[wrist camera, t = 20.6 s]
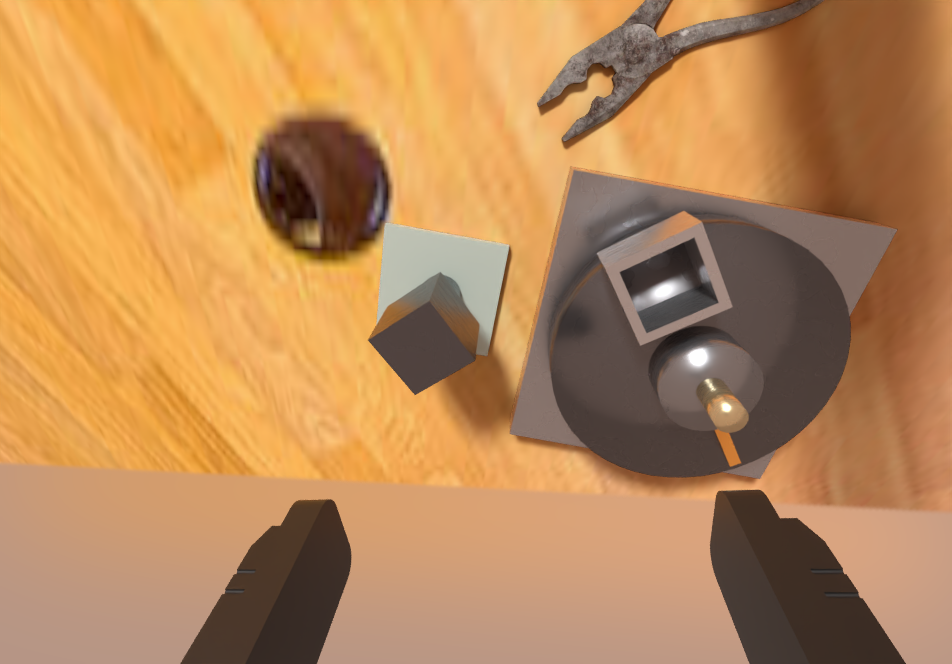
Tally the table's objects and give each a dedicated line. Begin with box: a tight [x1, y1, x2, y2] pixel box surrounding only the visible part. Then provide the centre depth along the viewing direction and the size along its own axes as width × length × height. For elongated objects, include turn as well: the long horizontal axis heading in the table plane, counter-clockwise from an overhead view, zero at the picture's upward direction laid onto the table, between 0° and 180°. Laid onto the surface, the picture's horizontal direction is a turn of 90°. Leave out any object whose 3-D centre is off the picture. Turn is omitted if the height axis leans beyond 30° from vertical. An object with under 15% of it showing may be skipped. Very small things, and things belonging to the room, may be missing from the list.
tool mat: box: [377, 223, 509, 356], centre depth 36 cm, size 9×9×1 cm
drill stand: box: [510, 166, 898, 479], centre depth 36 cm, size 21×21×2 cm
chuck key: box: [368, 272, 480, 395], centre depth 32 cm, size 4×4×9 cm
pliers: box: [537, 0, 824, 142], centre depth 28 cm, size 10×1×20 cm
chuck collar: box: [548, 211, 851, 477], centre depth 31 cm, size 20×19×9 cm
